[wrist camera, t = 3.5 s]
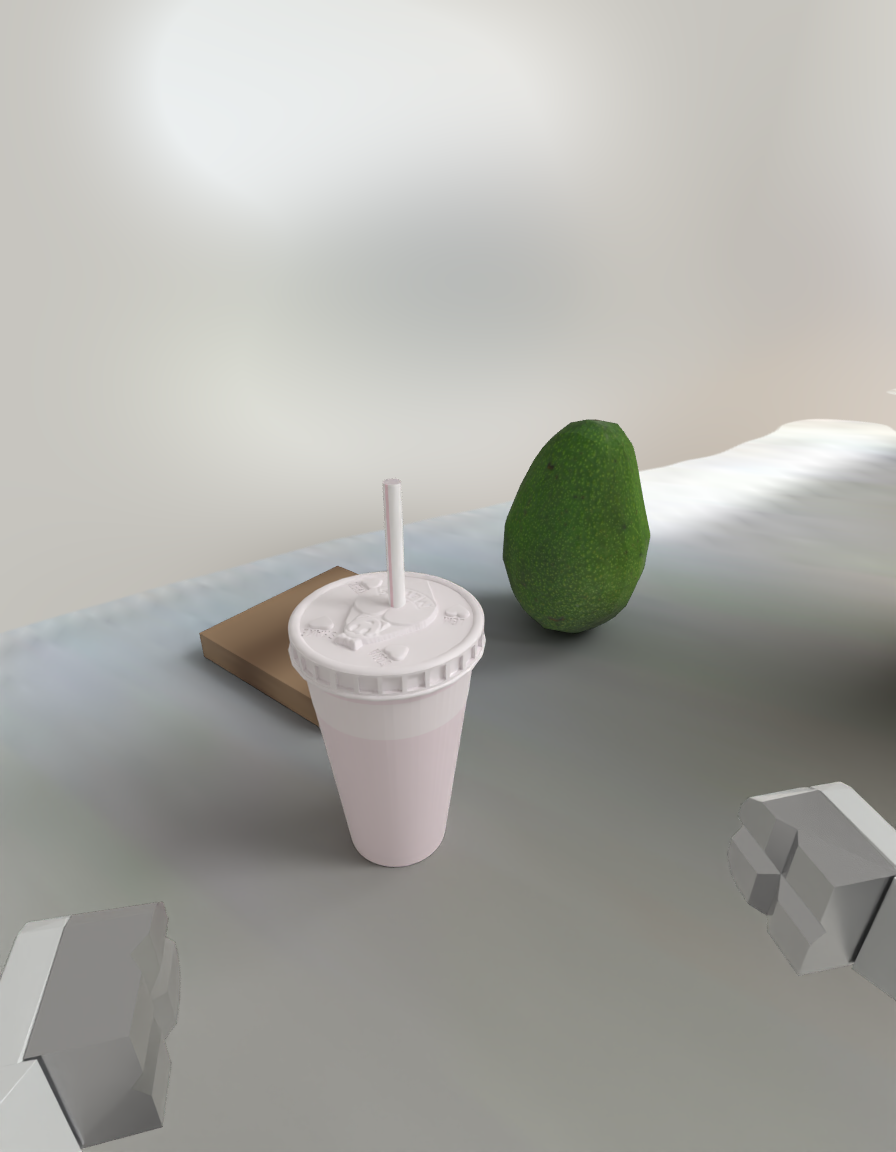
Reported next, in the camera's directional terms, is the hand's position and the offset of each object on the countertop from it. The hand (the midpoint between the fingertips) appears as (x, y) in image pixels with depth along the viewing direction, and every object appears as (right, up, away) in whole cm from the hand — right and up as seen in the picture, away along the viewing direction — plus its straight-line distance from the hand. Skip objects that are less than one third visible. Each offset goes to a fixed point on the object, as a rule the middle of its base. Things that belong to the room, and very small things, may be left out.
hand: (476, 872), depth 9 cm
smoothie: (-2, -6, +17) cm, 18 cm away
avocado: (+7, +1, +30) cm, 31 cm away
